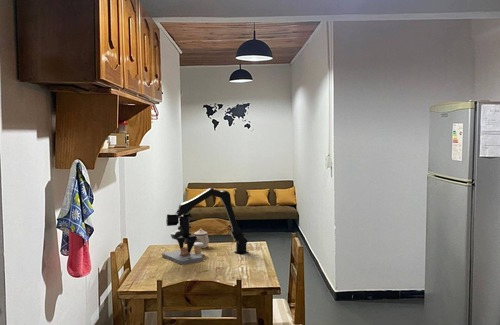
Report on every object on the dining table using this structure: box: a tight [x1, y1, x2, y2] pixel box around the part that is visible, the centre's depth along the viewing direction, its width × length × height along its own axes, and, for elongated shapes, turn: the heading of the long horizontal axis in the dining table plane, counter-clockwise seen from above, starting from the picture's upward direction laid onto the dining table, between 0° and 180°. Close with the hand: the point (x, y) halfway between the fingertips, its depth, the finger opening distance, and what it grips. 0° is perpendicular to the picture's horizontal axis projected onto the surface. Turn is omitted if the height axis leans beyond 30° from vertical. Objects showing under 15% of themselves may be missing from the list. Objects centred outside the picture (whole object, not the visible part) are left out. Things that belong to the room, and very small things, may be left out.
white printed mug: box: [193, 228, 210, 249], centre depth 302 cm, size 12×9×12 cm
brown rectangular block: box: [180, 246, 190, 256], centre depth 276 cm, size 3×4×6 cm, turn 125°
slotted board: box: [161, 249, 204, 266], centre depth 275 cm, size 24×14×2 cm, turn 37°
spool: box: [193, 242, 205, 257], centre depth 282 cm, size 7×7×7 cm
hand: (185, 251), depth 276 cm, fingers open, 9 cm apart
